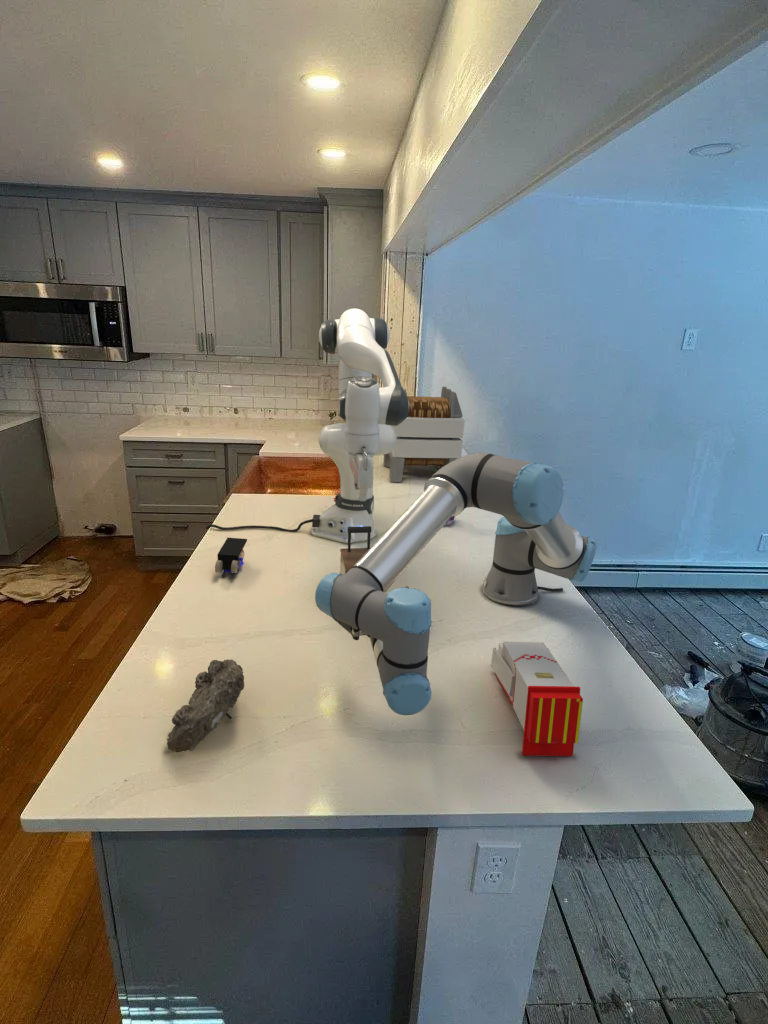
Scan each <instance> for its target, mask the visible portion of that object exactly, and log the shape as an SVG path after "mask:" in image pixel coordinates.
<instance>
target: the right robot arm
mask: <svg viewBox="0 0 768 1024" xmlns="http://www.w3.org/2000/svg"><path fill="white" fill-rule="evenodd" d="M563 487H564V481H563V478H562V475H561V473H560V472H559V470H557V469H556V468H554V467H552V466H549V465H547V464H544V463H541V462H531V461H526V460H521V459H517V458H513V457H508V456H507V457H506V456H503V455H498V454H493V453H489V452H475V453H470V454H467V455H463V456H461V457H460V458H458V459H456V460H454V461H452V462H450V463H449V464H447V465H445V466H444V467H442V468H441V469H437V471H436V472H435V473H433V474H432V475H431V476H430V477H429V478H428V479H427V480H426V482H425V483H424V486H423V492H422V493H421V494H420V495H419V496H418V497H417V498H416V500H414V501H413V503H411V504H410V505H409V507H407V509H406V510H404V512H403V513H402V514H401V515H400V516H399V517H398V518H397V519H396V520H395V521H394V523H393V524H391V526H390V527H389V528H388V529H386V531H385V532H384V533H383V534H382V535H381V537H379V538H378V539H377V540H376V541H375V542H374V544H373V545H372V546H370V549H369V550H368V551H367V552H366V553H365V554H364V555H363V556H362V558H361V559H360V560H359V561H358V562H357V563H356V564H355V565H354V566H353V567H352V568H351V569H350V570H349V571H348V572H347V573H346V574H345V575H343V574H341V573H340V572H339V573H338V572H330V573H329V574H326V575H325V576H323V577H322V578H321V580H319V583H318V584H317V587H316V589H315V594H314V601H315V604H316V607H317V609H318V610H319V611H320V612H322V613H324V614H325V615H327V616H328V617H330V618H332V620H333V621H335V622H336V623H337V624H338V625H340V626H341V628H343V629H344V630H345V631H347V632H348V633H349V634H350V635H351V637H352V640H354V641H359V640H360V637H362V636H366V637H368V639H370V643H371V648H372V651H373V654H374V659H375V663H376V667H377V670H378V674H379V678H380V683H381V686H382V694H383V696H384V698H385V700H386V703H387V705H388V707H389V708H390V710H391V711H392V712H393V713H395V714H398V715H400V716H413V715H416V714H419V713H421V712H423V711H424V710H425V709H426V708H427V707H428V705H429V704H430V702H431V699H432V689H431V682H430V680H429V678H428V675H427V674H428V661H429V642H430V635H431V634H430V633H431V626H432V600H431V599H430V597H429V595H428V594H427V593H425V592H424V591H422V590H421V589H418V588H410V587H409V586H408V585H407V586H404V587H398V588H394V589H392V590H390V591H389V592H388V593H386V592H387V591H388V589H389V588H390V587H392V585H393V584H394V583H395V582H396V580H398V578H399V577H400V576H401V575H402V574H403V573H404V572H405V570H406V569H407V568H408V567H409V566H410V564H412V562H413V561H414V560H415V559H416V558H417V557H418V555H419V554H420V553H421V552H422V551H423V549H424V548H425V547H426V546H427V545H428V544H429V543H430V542H431V541H432V540H433V538H434V537H435V536H436V535H437V534H438V532H440V530H441V529H442V528H443V527H444V526H443V525H444V524H445V523H446V522H447V521H448V520H449V519H450V517H451V516H455V517H457V516H460V515H461V513H463V512H464V510H465V509H467V508H476V509H479V510H482V511H487V512H490V513H493V514H497V515H500V516H502V517H501V518H499V519H498V521H497V524H496V530H495V533H494V534H495V537H494V538H495V539H494V546H493V547H494V548H493V556H492V564H491V567H490V569H489V572H488V574H487V575H486V576H485V577H484V579H483V585H482V592H483V594H484V595H485V597H487V598H488V599H489V600H491V601H493V602H495V603H496V604H497V603H498V604H501V605H505V606H510V607H526V606H529V605H532V604H534V603H536V602H537V600H538V596H539V591H546V592H553V593H554V592H563V591H564V588H563V587H559V588H556V587H555V588H550V587H545V586H539V585H538V583H537V578H536V572H535V571H536V570H539V571H541V572H542V571H543V572H546V573H547V574H552V575H555V576H557V577H561V578H564V579H567V580H569V581H571V582H572V581H574V582H577V583H581V582H583V581H585V579H586V578H587V577H588V574H589V572H590V571H591V568H592V565H593V563H594V559H595V555H596V551H597V541H596V539H595V538H590V536H583V535H581V533H580V532H579V531H578V529H576V528H575V527H574V526H572V525H570V524H567V522H566V520H565V519H564V517H563V516H562V514H561V512H560V510H561V507H562V503H563V499H564V489H563Z"/></svg>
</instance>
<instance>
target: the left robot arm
mask: <svg viewBox="0 0 768 1024" xmlns="http://www.w3.org/2000/svg"><path fill="white" fill-rule="evenodd" d="M390 333H391V332H390V328H389V326H388V323H387V322H386V320H385V319H383V318H380V317H369V315H368V314H367V313H366V312H365V311H364V310H362V309H360V308H349V309H346V310H345V311H344V312H342V314H341V315H340V317H339V318H336V319H334V318H330V319H326V320H324V321H323V322H322V323H321V325H320V328H319V331H318V341H319V344H320V346H321V348H322V350H323V351H324V352H325V353H327V354H330V355H335V354H338V356H339V364H338V365H339V366H338V391H339V392H338V393H339V394H338V400H339V410H338V415H337V416H338V417H339V418H340V419H342V420H343V421H344V422H337V423H332V424H328V425H325V426H324V427H322V429H321V430H320V432H319V435H318V444H319V447H320V450H321V451H322V452H323V454H325V455H326V456H327V457H329V458H330V459H331V460H332V462H333V463H334V464H335V466H336V467H337V470H338V474H339V483H340V484H339V485H340V488H339V489H340V490H339V491H338V492H337V494H336V495H335V496H334V497H333V502H334V504H333V505H331V506H329V507H328V508H326V509H325V510H323V512H321V514H313V515H312V518H311V519H307V520H304V521H301V522H300V523H299V524H298V526H297V528H294V529H288V528H283V527H279V526H271V525H240V526H229V527H227V526H226V527H223V526H220V525H217V524H208V525H207V526H205V528H204V529H205V530H208V529H210V528H215V529H218V530H220V531H235V530H244V529H265V530H277V531H281V532H287V533H288V532H289V533H296V532H298V531H300V530H301V528H302V526H303V525H306V524H309V523H311V527H312V528H311V530H310V533H311V536H315V537H319V538H323V539H326V540H330V541H336V542H339V543H343V544H348V531H347V528H348V527H356V526H371V533H370V540H372V539H373V538H375V537H376V535H377V532H376V528H375V523H374V513H373V512H374V509H375V496H374V460H373V457H380V456H384V454H388V453H391V452H392V451H393V449H394V448H395V445H396V440H397V438H396V433H395V431H394V429H393V428H392V427H391V426H390V425H392V426H398V425H399V424H400V423H402V422H403V421H404V420H405V419H406V418H407V417H408V412H409V401H408V397H407V396H408V395H407V394H408V393H407V391H406V392H405V391H404V390H405V389H404V388H403V386H402V383H401V380H400V377H399V375H398V373H397V369H396V367H395V365H394V362H393V359H392V357H391V356H390V353H389V352H388V351H387V350H386V349H387V347H388V344H389V343H390V342H389V341H390ZM373 375H374V376H376V377H378V378H379V379H380V382H381V384H382V387H380V385H379V381H378V380H377V379H375V378H374V377H373ZM406 393H407V394H406ZM367 536H368V533H351V544H352V543H357V542H365V541H367Z"/></svg>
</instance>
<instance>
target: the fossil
mask: <svg viewBox="0 0 768 1024" xmlns="http://www.w3.org/2000/svg"><path fill="white" fill-rule="evenodd" d="M243 670H244V669H243V667H242V665H240V664H237V662H236V661H235V660H234V659H232V658H231V659H227V658H226V659H224V660H223V661H222V660H217V659H212V660H211V661H210V663H209V665H208V666H207V671H201V672H199V673H198V674H197V675H196V676H195V680H194V684H195V685H194V687H195V689H194V690H193V693H192V694H191V697H190V698H189V700H188V704H184V705H182V706H181V707H180V709H177V710H176V711H175V713H174V715H173V716H172V718H171V723H172V724H173V727H172V730H171V731H170V732H168V734H167V738H166V741H167V742H166V745H167V749H168V750H169V751H173V752H174V753H176V754H178V753H182V752H188V751H189V752H192V751H193V750H195V748H196V747H197V746H199V744H200V743H201V742H203V741H204V740H205V739H206V738H207V737H208V736H209V735H210V734H211V733H212V732H214V730H215V729H217V727H218V726H219V724H220V722H221V721H222V720H223V719H224V718H225V716H226V717H227V719H229V720H233V717H232V715H230V714H229V710H230V709H231V708H234V706H235V704H236V703H237V702H238V699H239V697H240V695H241V693H242V691H243V690H245V689H244V688H245V675H244V671H243Z"/></svg>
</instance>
